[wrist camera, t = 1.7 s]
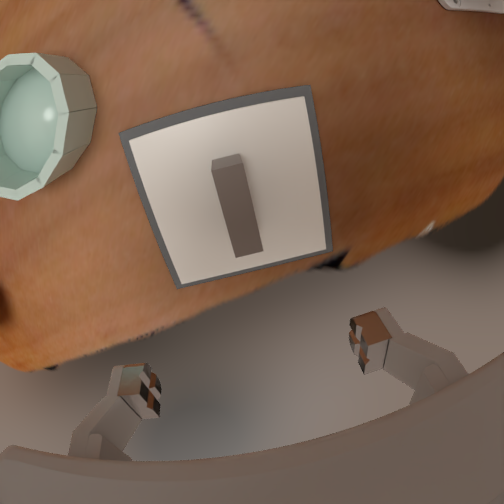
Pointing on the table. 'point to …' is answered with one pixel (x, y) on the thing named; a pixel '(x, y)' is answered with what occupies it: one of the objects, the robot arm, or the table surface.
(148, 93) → the table surface
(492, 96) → the table surface
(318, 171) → the mat
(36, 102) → the bowl
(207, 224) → the cover
